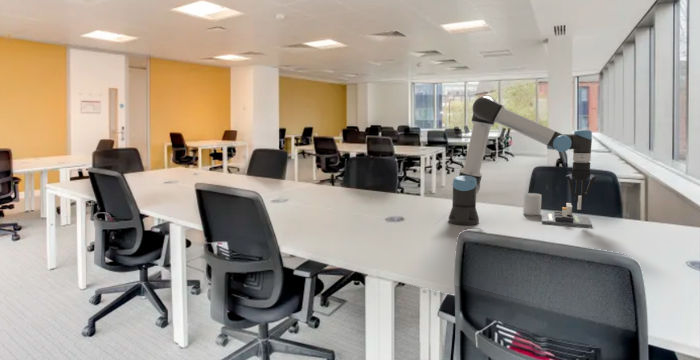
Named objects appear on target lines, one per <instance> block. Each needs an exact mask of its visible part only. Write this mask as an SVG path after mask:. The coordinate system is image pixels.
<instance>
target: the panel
mask: <svg viewBox="0 0 700 360" xmlns="http://www.w3.org/2000/svg"><path fill="white" fill-rule="evenodd" d="M541 224H542V225H543V224H544V225H552V224H553V225H554V226H564V225H568V226H567V227H569V226H570V227H576V226H580V227H579V228H588V227H591V228H593V223H592V221H591V219H590V217H589V216H582V215H573V214H572V215H567V217H562V210H554V211H553V213H541ZM591 228H590V229H591Z"/></svg>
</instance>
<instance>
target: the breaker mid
mask: <svg viewBox="0 0 700 360" xmlns="http://www.w3.org/2000/svg"><path fill="white" fill-rule="evenodd" d="M572 212H573V205H572V204H571V205H567V215H573V213H572Z"/></svg>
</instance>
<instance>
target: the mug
mask: <svg viewBox="0 0 700 360" xmlns="http://www.w3.org/2000/svg"><path fill="white" fill-rule="evenodd" d="M522 211H523V213H524V215H527V216H539V215H541V214H542V213H541V211H542V194H541V193H536V192H534V193H533V192H527V193H524V194H523V210H522Z"/></svg>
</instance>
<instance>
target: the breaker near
mask: <svg viewBox="0 0 700 360" xmlns="http://www.w3.org/2000/svg"><path fill="white" fill-rule="evenodd" d="M561 209H562V210H561V211H562V217H567V207H566V206H565V207H564V206H562V207H561Z"/></svg>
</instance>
